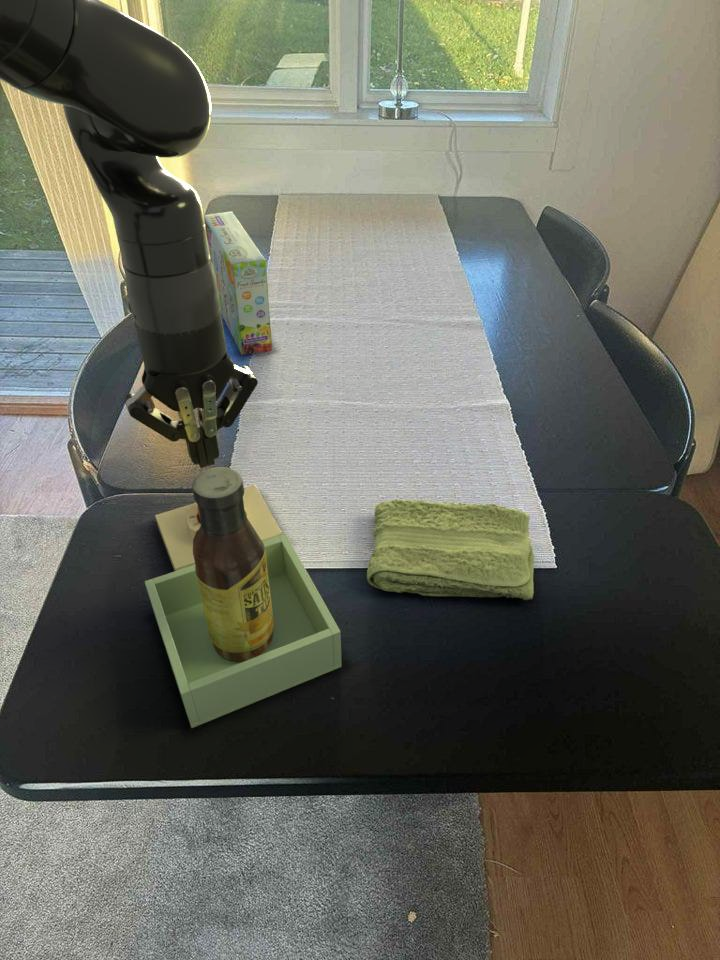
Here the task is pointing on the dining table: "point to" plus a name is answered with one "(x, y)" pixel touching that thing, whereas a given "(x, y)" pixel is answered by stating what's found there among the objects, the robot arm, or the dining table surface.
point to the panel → (185, 522)
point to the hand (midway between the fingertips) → (205, 461)
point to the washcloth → (451, 550)
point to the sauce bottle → (231, 568)
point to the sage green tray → (285, 663)
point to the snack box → (240, 282)
